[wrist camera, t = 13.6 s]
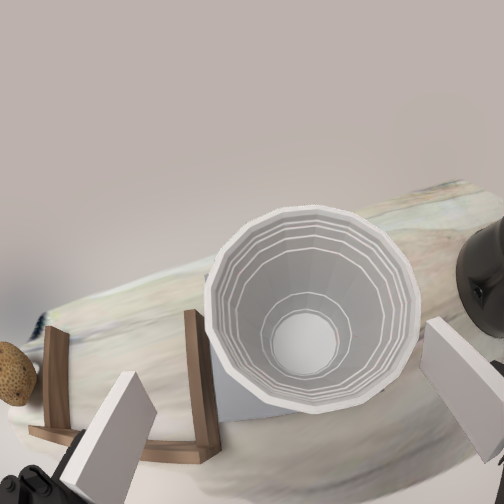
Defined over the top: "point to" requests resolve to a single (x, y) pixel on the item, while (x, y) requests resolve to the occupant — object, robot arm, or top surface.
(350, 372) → the plastic cup
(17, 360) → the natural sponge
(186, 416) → the top surface
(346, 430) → the top surface
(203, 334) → the brown wooden frame
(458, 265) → the robot arm
